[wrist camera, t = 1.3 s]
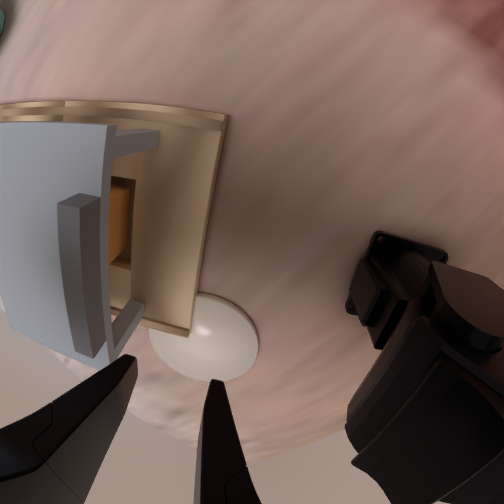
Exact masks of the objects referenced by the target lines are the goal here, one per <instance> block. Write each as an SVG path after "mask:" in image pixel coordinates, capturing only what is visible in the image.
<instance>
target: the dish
mask: <svg viewBox="0 0 504 504" xmlns="http://www.w3.org/2000/svg"><path fill="white" fill-rule="evenodd" d="M149 338H150V342H151V344H152V347H153V349H154V350H155V352H156V353H157V355H158V356H159V357H160V359H161V360H162V361H163V362H164V363H165V364H167V365H168V366H169V367H170V368H172V369H173V370H175V371H176V372H178V373H180V374H182V375H184V376H186V377H189V378H192V379H195V380H200V381H206V382H210V381H211V379H217V380H221V381H228V380H232V379H235V378H237V377H239V376H241V375H243V374H244V373H246V372H247V371H248V370H249V369H250V368H251V367H252V365H253V364H254V362H255V360H256V358H257V353H258V341H259V340H258V334H257V331H256V328H255V326H254V324H253V323H252V321H251V320H250V318H249V317H248V316H247V315H246V314H245V313H244V312H243V311H242V310H241V309H240V308H238V307H237V306H236V305H234V304H233V303H231V302H229V301H227V300H225V299H223V298H220V297H218V296H214V295H211V294H206V293H197V295H196V297H195V301H194V308H193V316H192V324H191V332H190V335H189V338H188V339H187V338H184V337H180V336H176V335H173V334H169V333H165V332H162V331H158V330H155V329H152V328H149Z"/></svg>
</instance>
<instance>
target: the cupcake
mask: <svg viewBox="0 0 504 504" xmlns="http://www.w3.org/2000/svg"><path fill="white" fill-rule="evenodd" d="M4 22H5V15H4V13H3V11H1V10H0V35H1V32H2V30H3V26H4Z"/></svg>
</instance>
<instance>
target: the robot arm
mask: <svg viewBox="0 0 504 504" xmlns="http://www.w3.org/2000/svg"><path fill="white" fill-rule="evenodd" d="M379 237H383V239H382V240H381V241H377V240H378V238H379ZM442 255H443V258H442V259H440V257H441V256H442ZM447 260H448V254H447V253H446V252H445V251H444V250H442V249H439V248H435V247H432V246H429V245H426V244H423V243H420V242H416V241H413V240H410V239H407V238H403V237H400V236H397V235H393V234H390V233H387V232H383V231H377V232H376V233H374V235H373V237H372V239H371V242H370V245H369V248H368V250H367V253H366V256H365V257H364V258H363V259H361V260H360V263H359V266H358V268H357V271H356V273H355V276H354V278H353V281H352V283H351V286H350V288H349V292H350V295H349V298H348V300H347V302H346V305H345V308H346V311H347V313H349V314H352V315H358V317H359V320H360V322H361V324H362V326H365V327H367V329H368V331H369V334H370V337H371V340H372V343H373V346H374V348H375V349H379V350H382V351H381V353H380V355H379V356H378V358H377V360H376V361H375V363H374V365H373V366H372V368H371V369H370V371H369V372H368V374H367V376H366V377H365V379H364V380H363V382H362V383H361V385H360V386H359V388H358V389H357V391H356V392H355V394H354V395H353V397H352V399H351V401H350V403H349V404H348V410H347V422H346V424H345V430H346V433H347V436H348V438H349V440H350V442H351V443H352V445H353V447H354V449H355V450H356V451H357V452H358V453H359V454H358V455H357V456H356V457H355V458H354V459H353V460H352V461H351V464H352V465H353V466H355V467H357V468H358V469H360V470H362V471H364V472H366V473H367V474H368V475H369V476H370V477H371V478H373V479H374V480H375V481H376V482H377V483H378V484H379V486H380V487H381V488H382V490H383V491H384V493H385V494H386V496H387V498H388V499H389V501H390V502H391V504H433V503H435V502H437V501H441V502H446V503H450V504H504V290H503V289H501V288H500V287H499V286H498V285H496V284H495V283H494V282H493V281H491V280H490V279H489V278H487V277H485V276H482V275H479V274H476V273H472V272H469V271H466V270H463V269H459V268H456V267H453V266H450V265H446V262H447ZM351 306H355V307H354V308H350V307H351ZM137 376H138V366H137V358H136V357H134V356H131V355H128V354H124V355H123V356H121V357H120V358H118V359H117V360H115V361H114V362H112V363H111V364H109V365H107V366H106V367H104V368H103V369H101V370H100V371H98V372H97V373H95V374H94V375H92V376H91V377H89V378H88V379H86V380H85V381H83V382H81V383H80V384H78V385H77V386H75V387H74V388H72V389H71V390H69V391H68V392H66V393H64V394H63V395H61V396H60V397H58V398H57V399H55V400H54V401H53V402H52V403H49V404H47V405H46V406H44V407H42V408H41V409H39V410H37V411H36V412H34V413H32V414H31V415H28V416H27V417H24V418H23V419H20V420H18V421H16V422H14V423H12V424H10V425H7V426H5V427H3V428H1V429H0V504H84V502H85V500H86V497H87V495H88V493H89V490H90V488H91V486H92V484H93V482H94V479H95V477H96V475H97V472H98V470H99V468H100V466H101V464H102V461H103V459H104V457H105V455H106V453H107V451H108V449H109V446H110V444H111V442H112V440H113V438H114V436H115V433H116V432H117V429H118V427H119V425H120V423H121V421H122V419H123V416H124V414H125V412H126V409H127V406H128V403H129V400H130V397H131V394H132V391H133V388H134V386H135V383H136V380H137ZM194 504H261V502H260V499H259V497H258V495H257V493H256V491H255V488H254V486H253V483H252V480H251V477H250V474H249V471H248V467H246V461H245V458H244V454H243V451H242V448H241V444H240V441H239V437H238V434H237V430H236V426H235V423H234V419H233V415H232V412H231V408H230V404H229V400H228V397H227V393H226V389H225V385H224V382H223V381H221V380H217V379H211V381H210V385H209V389H208V392H207V396H206V400H205V404H204V409H203V414H202V420H201V425H200V431H199V437H198V447H197V460H196V473H195V489H194Z"/></svg>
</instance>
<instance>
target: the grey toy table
mask: <svg viewBox="0 0 504 504" xmlns="http://www.w3.org/2000/svg"><path fill="white" fill-rule="evenodd" d="M116 128H117V125H113V124H100V123H85V122H64V121H4V122H0V292H1V296H2V300H3V304H4V307H5V311H6V314H7V317H8V321H9V324H10V327H11V328H12V329H14V330H15V331H17V332H19V333H21V334H23V335H25V336H27V337H29V338H30V339H32V340H34V341H36V342H38V343H40V344H42V345H44V346H46V347H48V348H50V349H52V350H54V351H57V352H59V353H61V354H63V355H65V356H67V357H70V358H72V359H74V360H77V361H79V362H81V363H84V364H86V365H88V366H91V367H93V368H96V369H98V370H101V369H103V368H104V367H106V366H107V365H109V364H111V363H112V362H114V361H115V360H116V359H117V358H118V356H119V354H120V353H121V351H122V349H123V348H124V346H125V344H126V343H127V341H128V340H129V338H130V336H131V335H132V333H133V331H134V330H135V328H136V327H137V325H138V323H139V322H140V320H141V319H142V317H143V315H144V303H141V302H138V301H135V300H131V299H129V301H128V302H127V303H126V305H125V306H124V308H123V309H122V310H121V312H120V313H119V314H118V316H117V317H116V318H115V320H114V321H113V322H112V323H111V310H110V294H109V267H108V228H109V201H110V185H111V172H112V161H113V159H115V158H119V157H122V156H126V155H130V154H133V153H137V152H141V151H145V150H149V149H153V148H157V146H158V140H159V133H160V131H158V130H150V129H131V130H122V131H116Z"/></svg>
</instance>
